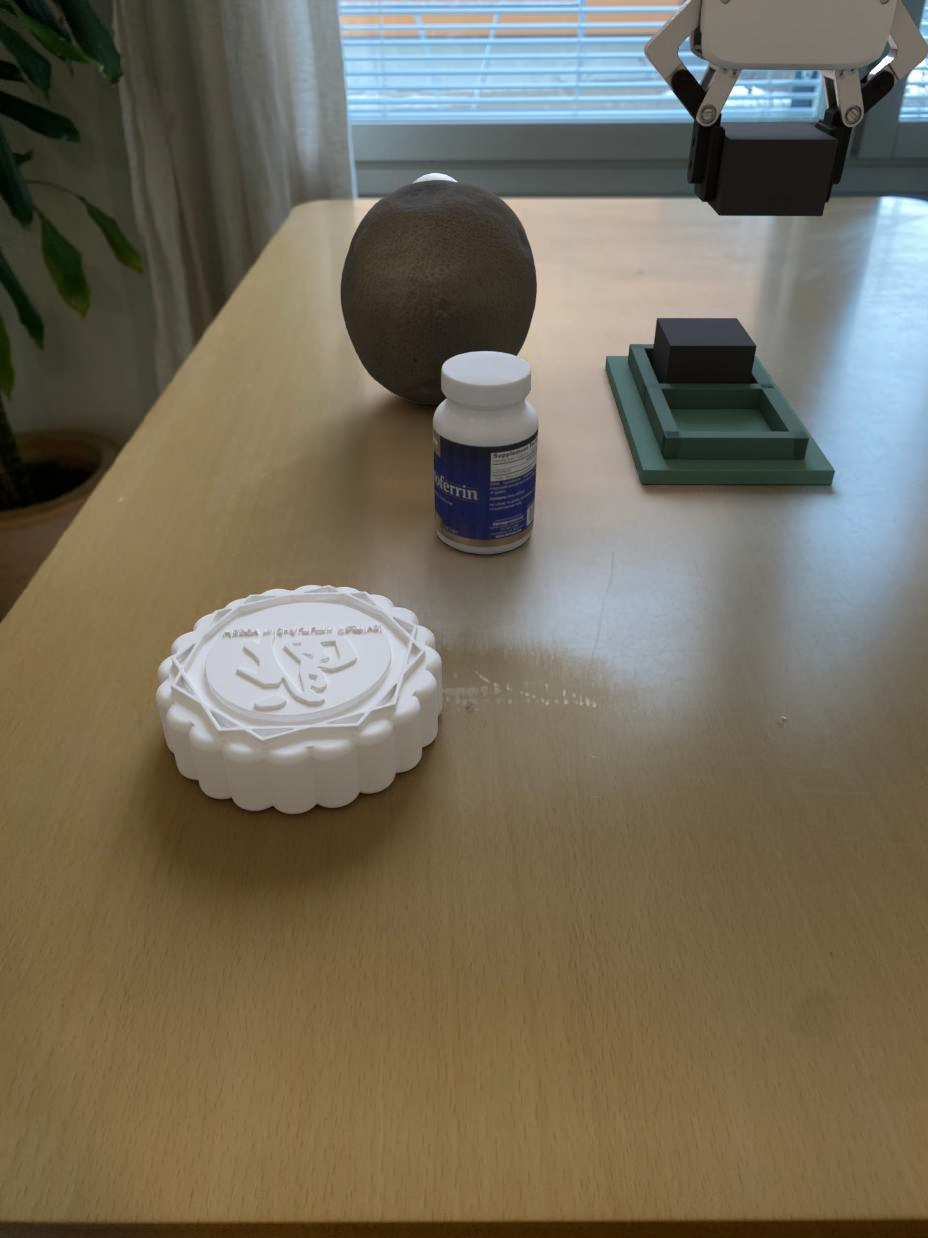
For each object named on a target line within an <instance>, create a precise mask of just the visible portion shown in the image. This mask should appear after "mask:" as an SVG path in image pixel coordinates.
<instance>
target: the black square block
mask: <svg viewBox="0 0 928 1238" xmlns="http://www.w3.org/2000/svg"><path fill="white" fill-rule="evenodd" d="M655 323H656V324H655V330H654V338H653V344H654V347H653V355H652V363H651V366H652V368H653V371H654V373H655V376H656V378H657V380H658V383H659V384H750V380H751V374H752V369H753V363H754V358H755V356H756V351H757V347H758V346H757V344H756V343H755V342H754V340H753V339H752V337H751V336H750V334H749V333H748V332H747V330H746V329H745V327H744V326H743V324H742V323H741V321H740V320H739V319H738V318H737V317H657V318H656V322H655Z"/></svg>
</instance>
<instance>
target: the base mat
mask: <svg viewBox="0 0 928 1238" xmlns="http://www.w3.org/2000/svg"><path fill="white" fill-rule="evenodd" d="M628 345H629V346H628V354H627V355H606V356H605V366H604V368H605V371H606V375H607V377H608V381H609V383H610V387H611V391H612V393H613V396H614V397H613V398H614V400H615V402H616V407H617V409H618V413H619V416H620V419H621V422H622V426H623V429H624V432H625V435H626V438H627V441H628V444H629V445H628V446H629V448H630V451H631V454H632V458H633V461H634V465H635V467H636V471H637V474H638V477H639V480H640V483H641V485H832V484H833V482H834V478H835V473H836V470H835V468H834V467H833V466H832V464H831V462H830V460H828V458H827V457H826V455H825V454H824V452H823V451H822V449H821V447H820V446H819V445H818V443H817V442H816V440H815V439H814V438H813V436H812V435H811V432H809V430H808V429H807V427H806V426H805V425H804V423H803V422H802V420H801V419H800V417H799V416H798V414H797V413H796V411H795V410H794V408H793V407H792V406H791V404H790V403H789V401H788V400H787V398H786V396H784V394H783V392H782V390H780V387H778V385H777V384H776V382H775V381H774V379H773V378H772V377H771V375H770V373H769V372H768V370H767V369H766V368H765V366H764V364H763V363H762V362H761V359H759V357H758V356H757V355H755V358H754V363H753V369H752V374H751V380H750V384H659V383H658V380H657V378H656V376H655V373H654V371H653V368H652V366H651V363H652V355H653V347H654V343H629V344H628Z"/></svg>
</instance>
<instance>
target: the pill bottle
mask: <svg viewBox="0 0 928 1238" xmlns="http://www.w3.org/2000/svg"><path fill="white" fill-rule="evenodd" d="M441 389H442V392H443V393H444V395H445V396H446V399H445V400H444V401H443V402H442V403H441V404H438V406H437V407H436V409H435V411H434V413H433V418H432V457H433V459H432V460H433V463H432V464H433V466H432V469H433V471H432V473H433V509H434V512H433V513H434V516H433V517H434V527H435V532H436V535H437V536H438V537H439V538H440V540H441V541H442V542H443V543H444V544H446V545H448V546H449V547H451V548H453V549H455V550H458V551H461V552H463V553H467V554H474V555H475V554H476V555H497V554H503V553H506V552H509V551H512V550H515V549H517V548H518V547H521V546H522V545H524V543H526V542H527V540H528V539H529V538H530V536H531V535H532V532H533V529H534V521H535V507H536V505H535V504H536V483H537V464H538V463H537V462H538V443H539V440H538V439H539V416H538V414H537V411H536V410H535V408H534V406H533V405H532V404H531V403H530V402H529V401H528V400H526V399H527V397H528V396H529V395H530V393H531V390H532V367H531V365H530V364H529V363H528V362H527V361H526V360H525V359H524V358H522V357H519V356H518V355H517V356H514V355H511V354H507V353H502V352H492V351H479V352H469V353H464V354H460V355H457V356H454V357H452V358H450V359H448V360H447V361H446V362H445V363H444V364H443V366H442V370H441Z"/></svg>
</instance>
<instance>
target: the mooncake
mask: <svg viewBox="0 0 928 1238" xmlns="http://www.w3.org/2000/svg"><path fill="white" fill-rule="evenodd" d="M419 622H420V621H419V618H418V616H417V615H416V614H415V613H414V612H413V611H412V610H410V609H408V608H404V607H402V606H401V607H400V606H395V605H394V603H393V602H392V601H391V600H390V598H388V597H386V596H384V595H380V594H375V593H374V594H373V593H372V594H369V593H368V591H359V590H358V589H356V588H354V587H349V586H338V587H334V586H332V585H330V584H328V585H323V586H321V585H317V584H307V585H303V586H299V587H297V588H295V589H293V590H288V589H285V588H274V589H273V588H272V589H268V590H266V591H263V592H262V593H260V594H249V595H248V596H247V597H244V598H238V599H235V600H232V601H231V602H230V603H228V604H226V605H225V606H224V608H220V609H215V610H214V611H213V612H212V613H209V614H206V615H203V616H202V617H201V618H199V619H198V620H197V621H196V622H195V624H194V625H193V628H192V631H189V632H186V633H184V634H182V635H180V636H179V637H177V638H176V639H175V640H174V641H173V643H172V644H171V647H170V656H168V657H166V659H163V661H162V662H161V663H160V664H159V666H158V669H157V679H158V683H159V686H158V687H157V689H156V692H155V703H156V706H157V710H158V711H157V712H158V714H159V718H160V723H161V726H162V730H163V734H164V738H165V743H166V745H167V748H168V749H169V751H170V752H171V753H172V754H174V759H175V763H176V767H177V770H178V771H179V773H180V774H181V775H182V776H183V777H185V778H187V779H189V780H193V781H198V784H199V788H200V790H201V791H202V792H203V793H204V794H205V795H206V796H207V797H210V798H212V799H216V800H228V799H232V801H233V802H234V804H235V805H237V806H238V807H239V808H241V809H242V810H245V811H249V812H259V811H264V810H267V809H269V808H271V807H274V808H275V809H276V810H277V811H279V812H281V813H284V814H286V815H287V814H288V815H298V814H303V813H305V812H307V811H310V810H311V809H313V808H314V807H315V806H316V805H319V806H321V807H324V808H328V809H336V808H342V807H344V806H347V805H349V804H351V803H352V802H353V801H354V800H355V799H357V798H358V796H359V794H360V793H361V794H367V795H369V794H375V793H379V792H382V791H384V790H385V789H387V788H388V787H390V785H392V783H393V782H394V780H395V778H396V774H399V773H405V772H408V771H410V770H412V769H413V768H415V767H416V766H417V765H418V764H419V763H420V761H421V759H422V755H423V748H425V747H428V746H429V745H430V744H431V743H433V741H434V740H435V739H436V737H437V735H438V734H439V733H438V732H439V716H440V714H441V713H442V710H443V662H442V661H443V660H442V657H441V656H440V654H439V652H437V650H436V638H435V635H434V634H433V632H432V631H431V630H430V629H429V628H427V627H425V626H423V625H420V623H419Z"/></svg>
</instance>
